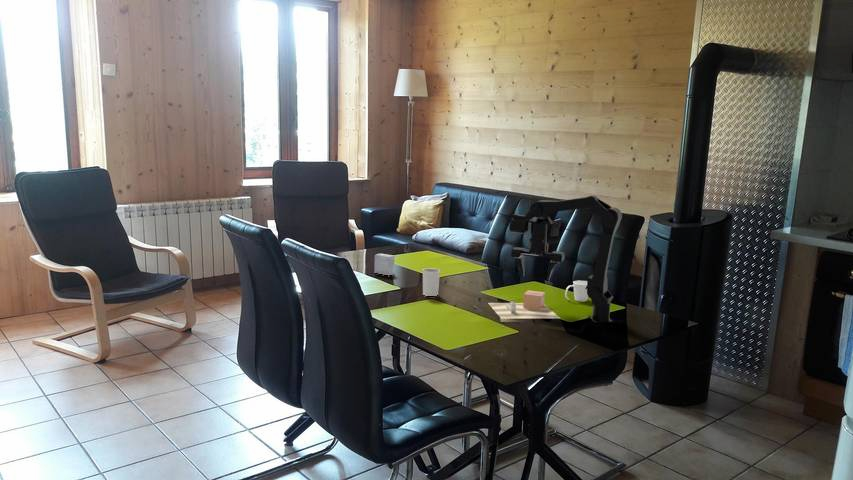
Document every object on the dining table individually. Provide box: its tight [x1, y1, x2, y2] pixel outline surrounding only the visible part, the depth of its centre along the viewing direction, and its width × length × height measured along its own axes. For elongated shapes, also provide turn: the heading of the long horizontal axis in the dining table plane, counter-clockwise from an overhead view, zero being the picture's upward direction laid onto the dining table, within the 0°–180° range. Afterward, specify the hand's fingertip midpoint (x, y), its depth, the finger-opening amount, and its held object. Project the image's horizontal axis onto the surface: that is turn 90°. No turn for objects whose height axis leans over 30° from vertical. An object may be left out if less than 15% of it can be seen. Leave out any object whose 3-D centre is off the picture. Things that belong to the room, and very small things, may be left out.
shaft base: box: [487, 301, 561, 323], centre depth 242 cm, size 20×21×5 cm
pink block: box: [522, 289, 546, 310], centre depth 247 cm, size 6×6×5 cm
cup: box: [564, 280, 589, 303], centre depth 259 cm, size 7×10×8 cm
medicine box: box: [373, 253, 396, 277], centre depth 295 cm, size 8×4×9 cm, turn 58°
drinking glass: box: [422, 267, 441, 297], centre depth 262 cm, size 7×7×10 cm
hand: (535, 277), depth 246 cm, fingers open, 9 cm apart
